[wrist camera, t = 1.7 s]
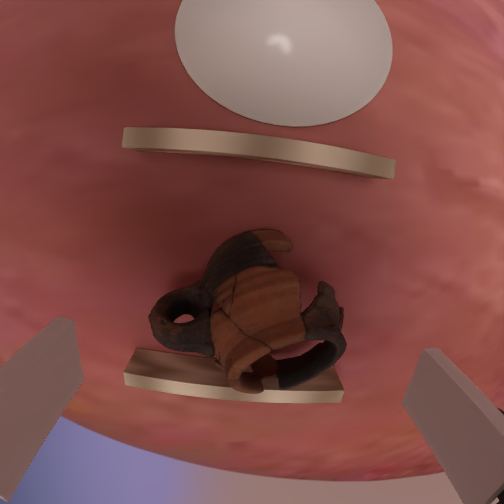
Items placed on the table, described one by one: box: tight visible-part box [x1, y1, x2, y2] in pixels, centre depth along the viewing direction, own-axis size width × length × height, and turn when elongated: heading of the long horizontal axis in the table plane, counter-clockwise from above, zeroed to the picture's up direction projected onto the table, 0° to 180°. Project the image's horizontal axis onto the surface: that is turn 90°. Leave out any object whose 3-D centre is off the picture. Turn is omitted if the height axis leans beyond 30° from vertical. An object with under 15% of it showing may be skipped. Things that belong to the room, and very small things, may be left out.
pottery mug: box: [148, 230, 347, 394], centre depth 19 cm, size 12×9×8 cm
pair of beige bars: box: [122, 127, 396, 403], centre depth 20 cm, size 16×17×4 cm
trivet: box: [175, 0, 393, 127], centre depth 17 cm, size 16×16×1 cm
